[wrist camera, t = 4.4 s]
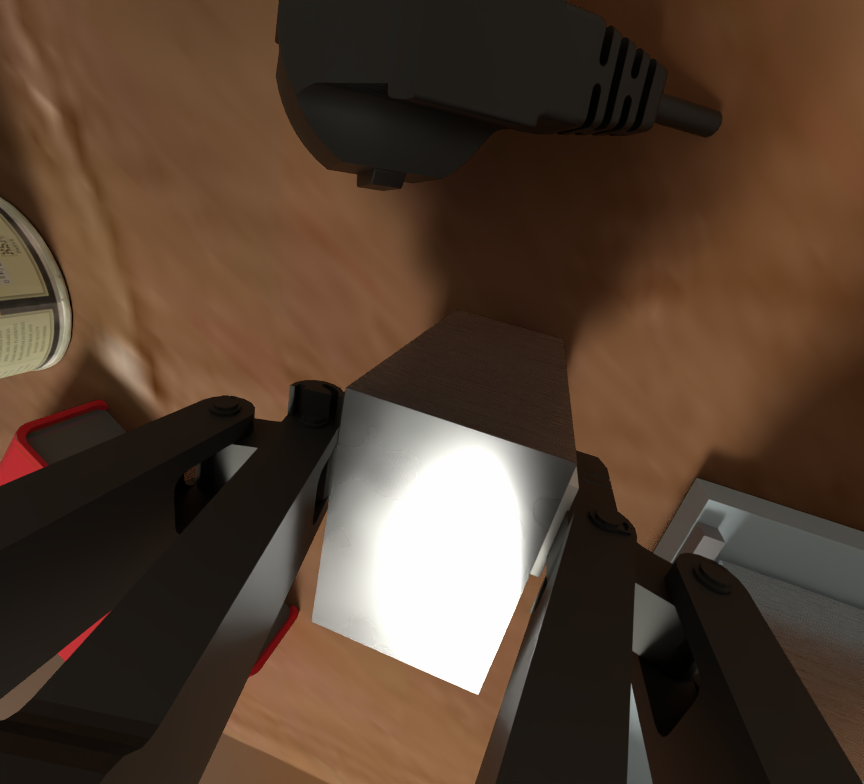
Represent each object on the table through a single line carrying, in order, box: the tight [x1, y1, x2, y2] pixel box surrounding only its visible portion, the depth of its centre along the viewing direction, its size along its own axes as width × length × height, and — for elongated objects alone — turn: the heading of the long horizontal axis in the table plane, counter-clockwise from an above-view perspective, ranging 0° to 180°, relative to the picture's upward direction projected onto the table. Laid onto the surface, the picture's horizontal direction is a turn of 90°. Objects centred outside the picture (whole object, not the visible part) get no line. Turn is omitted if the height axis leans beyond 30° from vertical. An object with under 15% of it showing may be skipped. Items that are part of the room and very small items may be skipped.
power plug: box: [275, 0, 722, 191], centre depth 12 cm, size 6×8×12 cm
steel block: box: [312, 309, 577, 695], centre depth 12 cm, size 4×6×9 cm, turn 167°
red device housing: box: [0, 400, 299, 678], centre depth 26 cm, size 18×14×5 cm
